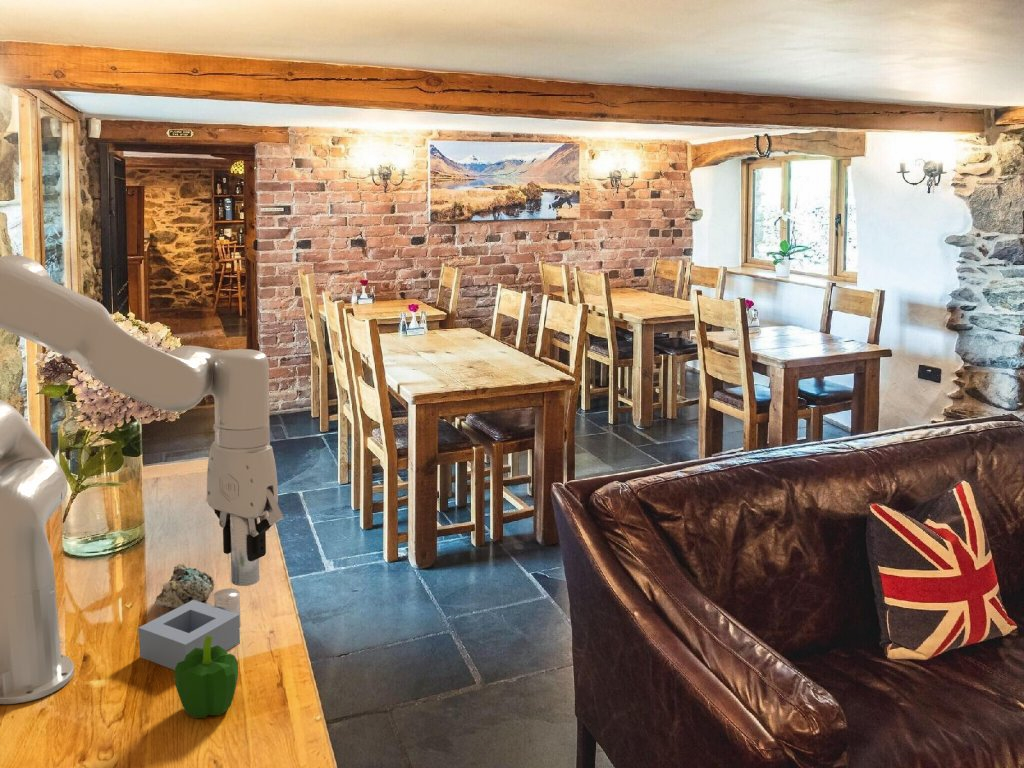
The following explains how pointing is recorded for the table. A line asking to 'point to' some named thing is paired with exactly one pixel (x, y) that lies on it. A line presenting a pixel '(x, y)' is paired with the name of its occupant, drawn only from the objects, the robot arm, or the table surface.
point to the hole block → (187, 632)
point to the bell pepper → (206, 680)
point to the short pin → (228, 601)
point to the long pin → (241, 553)
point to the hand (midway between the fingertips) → (244, 553)
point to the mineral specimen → (185, 587)
